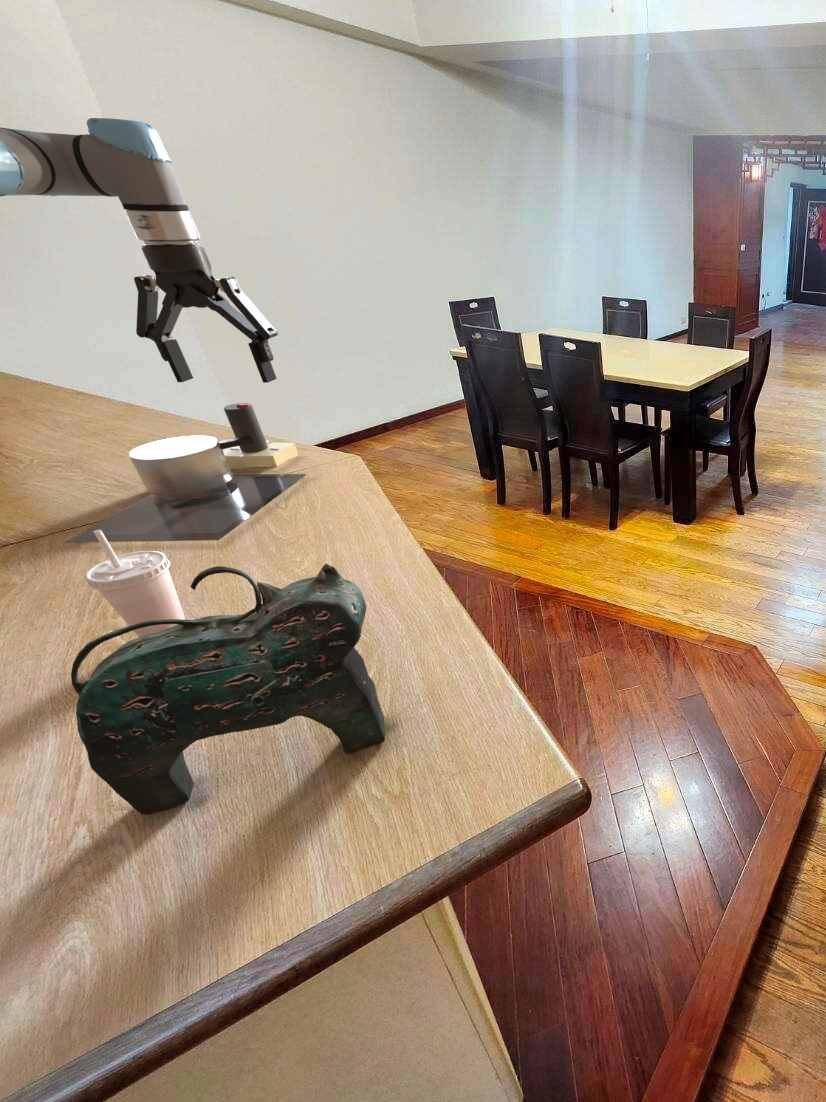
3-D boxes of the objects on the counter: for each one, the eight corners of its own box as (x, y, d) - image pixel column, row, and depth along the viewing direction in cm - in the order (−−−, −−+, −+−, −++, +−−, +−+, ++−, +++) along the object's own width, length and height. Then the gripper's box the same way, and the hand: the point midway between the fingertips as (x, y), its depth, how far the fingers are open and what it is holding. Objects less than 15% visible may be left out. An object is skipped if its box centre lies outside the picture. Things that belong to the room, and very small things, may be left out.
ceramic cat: (404, 705, 59) (342, 530, 49) (407, 751, 54) (339, 568, 44) (146, 779, 51) (6, 587, 40) (122, 841, 46) (-44, 642, 36)
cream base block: (216, 470, 106) (210, 456, 104) (244, 453, 113) (239, 440, 111) (276, 470, 107) (270, 456, 105) (300, 453, 114) (295, 440, 112)
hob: (66, 545, 82) (64, 542, 82) (187, 476, 103) (185, 474, 103) (220, 542, 84) (218, 539, 84) (308, 476, 105) (307, 473, 105)
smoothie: (128, 636, 66) (59, 527, 59) (200, 614, 70) (144, 509, 63) (132, 664, 62) (59, 551, 55) (208, 639, 66) (150, 530, 59)
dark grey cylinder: (236, 452, 106) (217, 407, 102) (249, 444, 110) (231, 401, 106) (259, 452, 107) (241, 407, 103) (272, 445, 110) (255, 401, 106)
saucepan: (154, 508, 91) (132, 465, 88) (146, 486, 98) (125, 445, 94) (273, 482, 101) (257, 442, 97) (259, 463, 108) (243, 425, 104)
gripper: (60, 241, 87) (132, 385, 98) (242, 246, 89) (292, 386, 100) (102, 239, 93) (165, 374, 104) (271, 243, 95) (315, 375, 106)
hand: (228, 380), depth 102 cm, fingers open, 13 cm apart
